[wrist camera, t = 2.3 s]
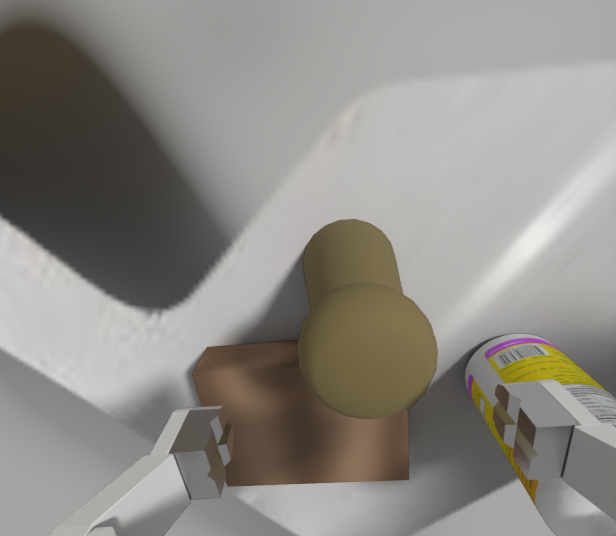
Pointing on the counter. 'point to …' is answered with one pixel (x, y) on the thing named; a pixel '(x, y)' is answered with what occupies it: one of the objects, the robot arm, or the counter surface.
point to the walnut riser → (293, 422)
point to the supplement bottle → (556, 365)
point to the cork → (362, 325)
